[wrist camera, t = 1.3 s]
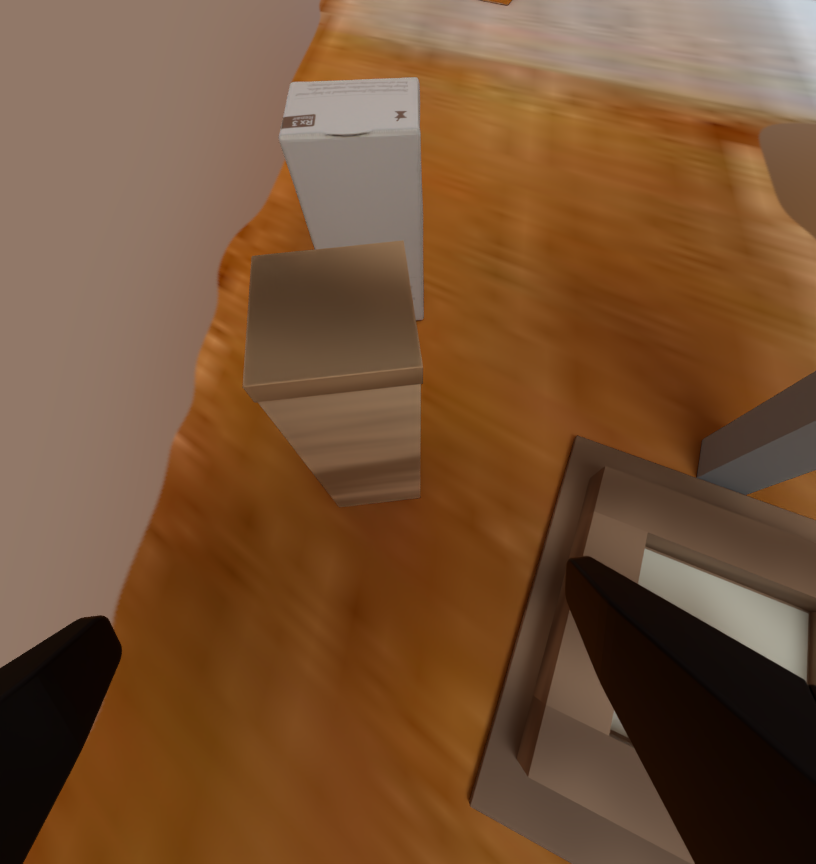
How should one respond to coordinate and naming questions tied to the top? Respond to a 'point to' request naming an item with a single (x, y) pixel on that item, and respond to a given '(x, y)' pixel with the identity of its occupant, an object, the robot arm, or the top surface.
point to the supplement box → (499, 1)
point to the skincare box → (359, 165)
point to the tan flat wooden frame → (573, 671)
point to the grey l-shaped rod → (764, 442)
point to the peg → (340, 366)
